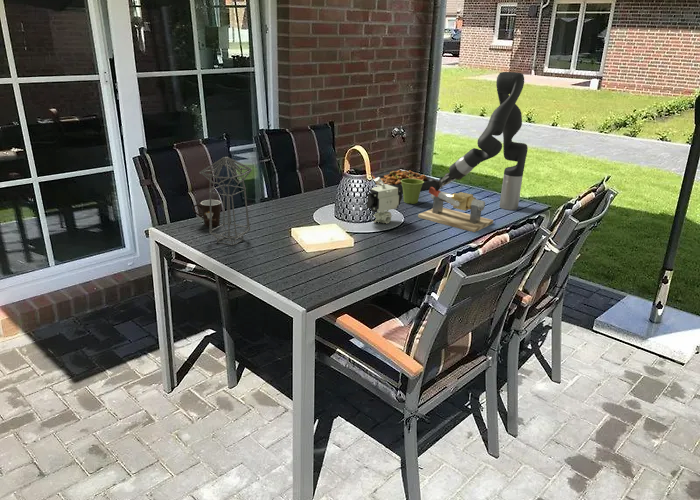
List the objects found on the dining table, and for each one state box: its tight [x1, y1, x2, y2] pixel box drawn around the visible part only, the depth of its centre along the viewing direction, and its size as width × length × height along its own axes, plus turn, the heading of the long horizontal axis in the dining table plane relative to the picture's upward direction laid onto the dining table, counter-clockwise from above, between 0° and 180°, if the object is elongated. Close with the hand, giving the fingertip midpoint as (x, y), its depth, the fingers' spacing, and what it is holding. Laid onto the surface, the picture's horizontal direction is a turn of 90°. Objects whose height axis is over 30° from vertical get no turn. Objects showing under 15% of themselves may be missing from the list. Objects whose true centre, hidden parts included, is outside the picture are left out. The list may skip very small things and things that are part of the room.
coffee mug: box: [192, 199, 222, 228], centre depth 241 cm, size 12×9×10 cm
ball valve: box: [367, 184, 403, 224], centre depth 250 cm, size 18×8×18 cm, turn 127°
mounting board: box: [417, 207, 494, 233], centre depth 259 cm, size 18×30×2 cm, turn 50°
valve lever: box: [428, 187, 460, 207], centre depth 253 cm, size 2×3×16 cm
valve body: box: [430, 191, 486, 224], centre depth 256 cm, size 8×26×12 cm, turn 50°
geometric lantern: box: [199, 156, 253, 246], centre depth 217 cm, size 16×16×35 cm
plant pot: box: [401, 179, 424, 205], centre depth 283 cm, size 12×12×11 cm
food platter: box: [361, 167, 439, 194], centre depth 313 cm, size 45×25×10 cm, turn 119°
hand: (435, 188), depth 255 cm, fingers closed
